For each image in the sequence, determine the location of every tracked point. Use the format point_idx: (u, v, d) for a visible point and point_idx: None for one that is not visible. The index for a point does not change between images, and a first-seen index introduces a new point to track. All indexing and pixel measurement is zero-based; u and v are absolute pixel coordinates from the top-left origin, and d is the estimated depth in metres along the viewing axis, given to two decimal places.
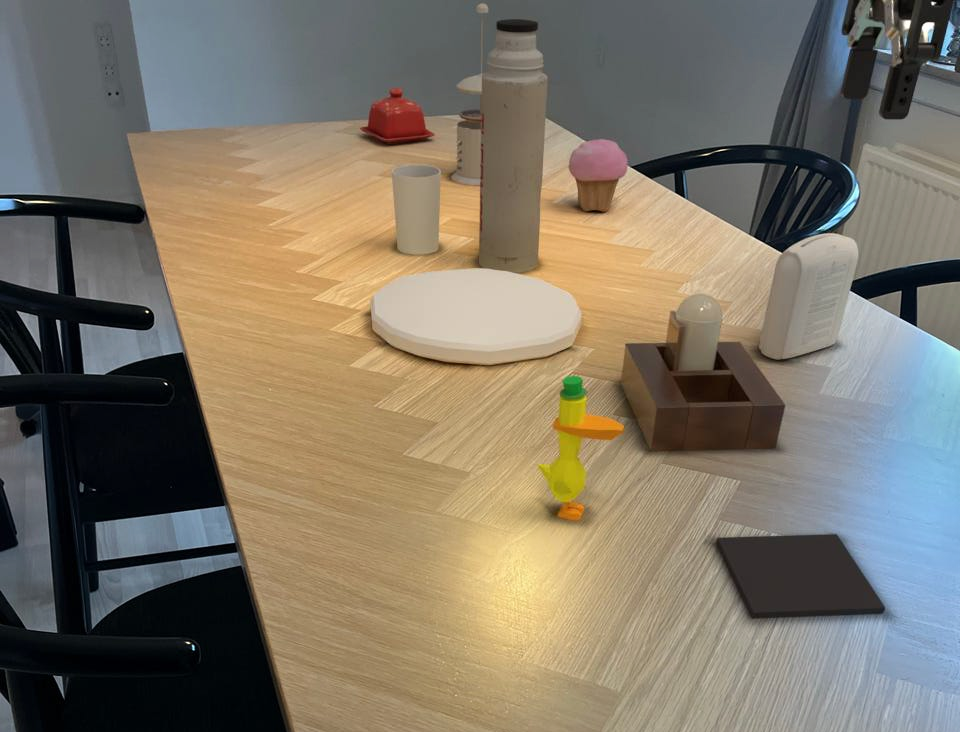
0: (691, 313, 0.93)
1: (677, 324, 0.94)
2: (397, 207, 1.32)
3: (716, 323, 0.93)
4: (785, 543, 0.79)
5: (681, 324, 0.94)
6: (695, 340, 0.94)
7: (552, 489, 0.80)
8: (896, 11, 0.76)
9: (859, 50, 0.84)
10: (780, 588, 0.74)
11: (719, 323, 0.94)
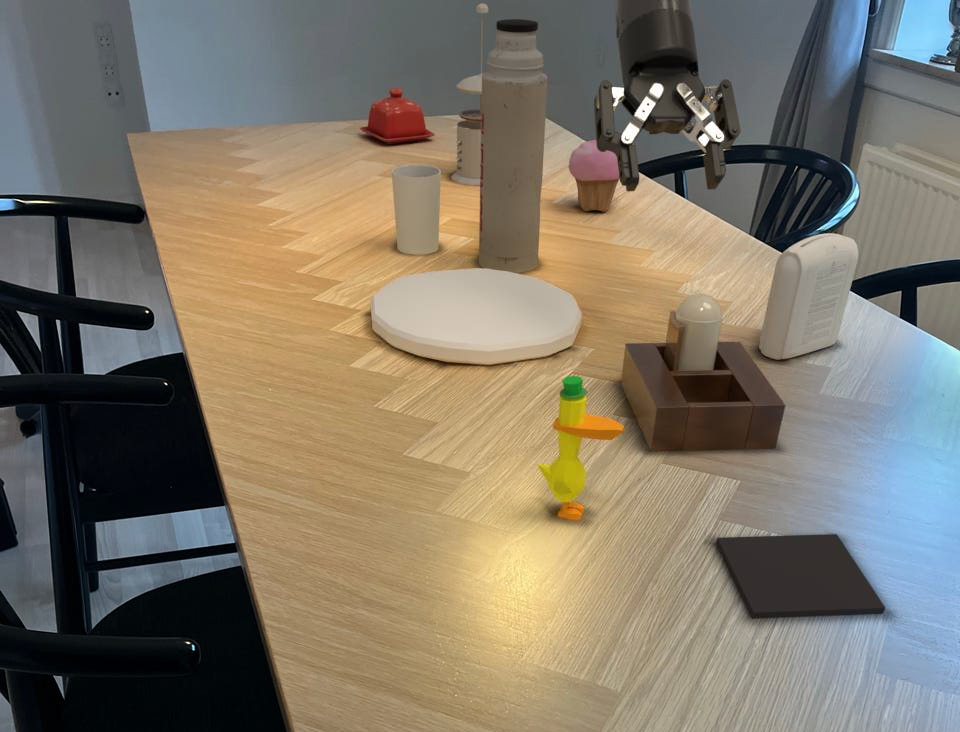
0: (691, 313, 0.93)
1: (677, 324, 0.94)
2: (397, 207, 1.32)
3: (716, 323, 0.93)
4: (785, 543, 0.79)
5: (681, 324, 0.94)
6: (695, 340, 0.94)
7: (552, 489, 0.80)
8: None
9: (705, 153, 0.99)
10: (780, 588, 0.74)
11: (719, 323, 0.94)
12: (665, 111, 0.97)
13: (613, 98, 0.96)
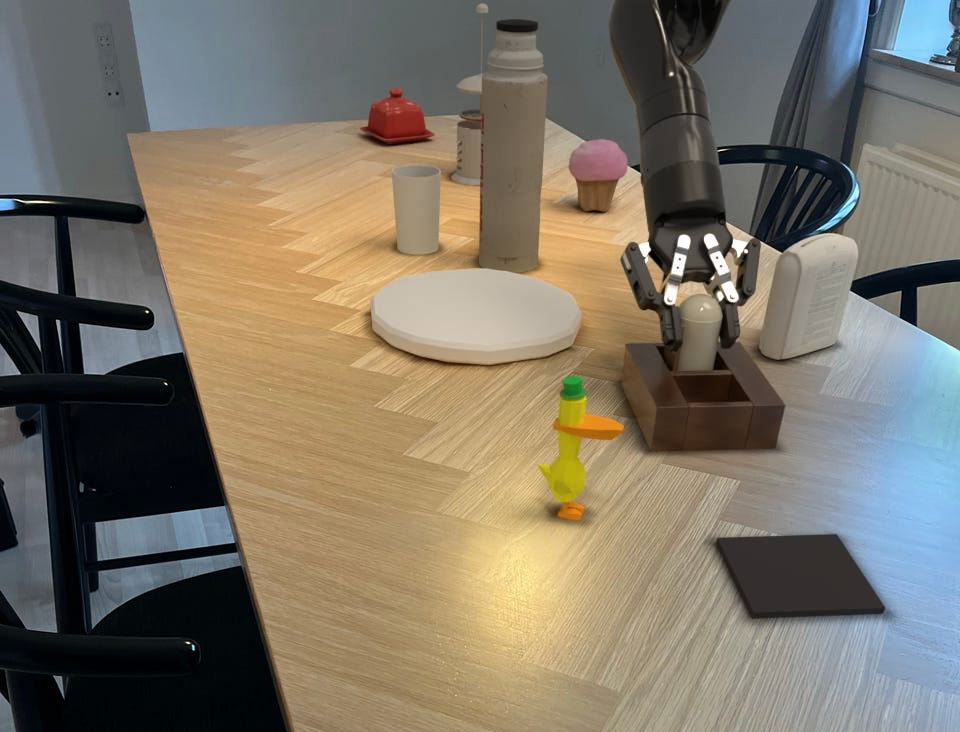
0: (691, 313, 0.93)
1: None
2: (397, 207, 1.32)
3: (716, 323, 0.93)
4: (785, 543, 0.79)
5: (681, 324, 0.93)
6: (695, 340, 0.94)
7: (552, 489, 0.80)
8: (662, 279, 0.96)
9: None
10: (780, 588, 0.74)
11: (719, 323, 0.94)
12: (692, 263, 0.94)
13: (644, 257, 0.93)
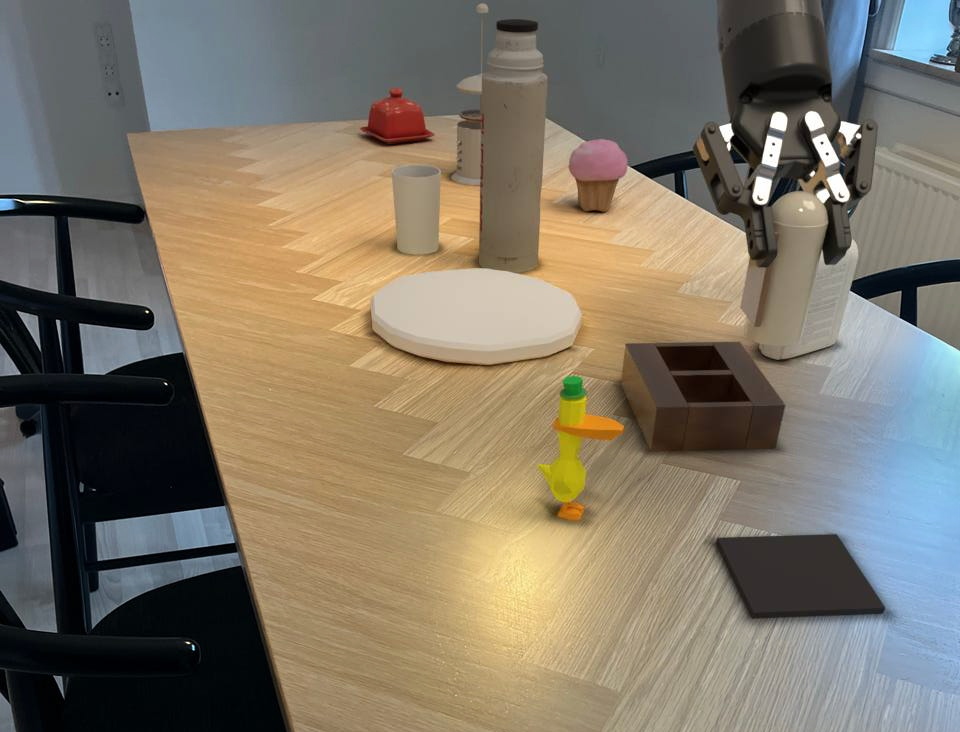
0: (789, 215, 0.71)
1: None
2: (397, 207, 1.32)
3: (821, 229, 0.71)
4: (785, 543, 0.79)
5: (775, 230, 0.71)
6: (792, 252, 0.72)
7: (552, 489, 0.80)
8: (747, 175, 0.73)
9: None
10: (780, 588, 0.74)
11: (824, 229, 0.71)
12: (789, 150, 0.71)
13: (726, 142, 0.71)
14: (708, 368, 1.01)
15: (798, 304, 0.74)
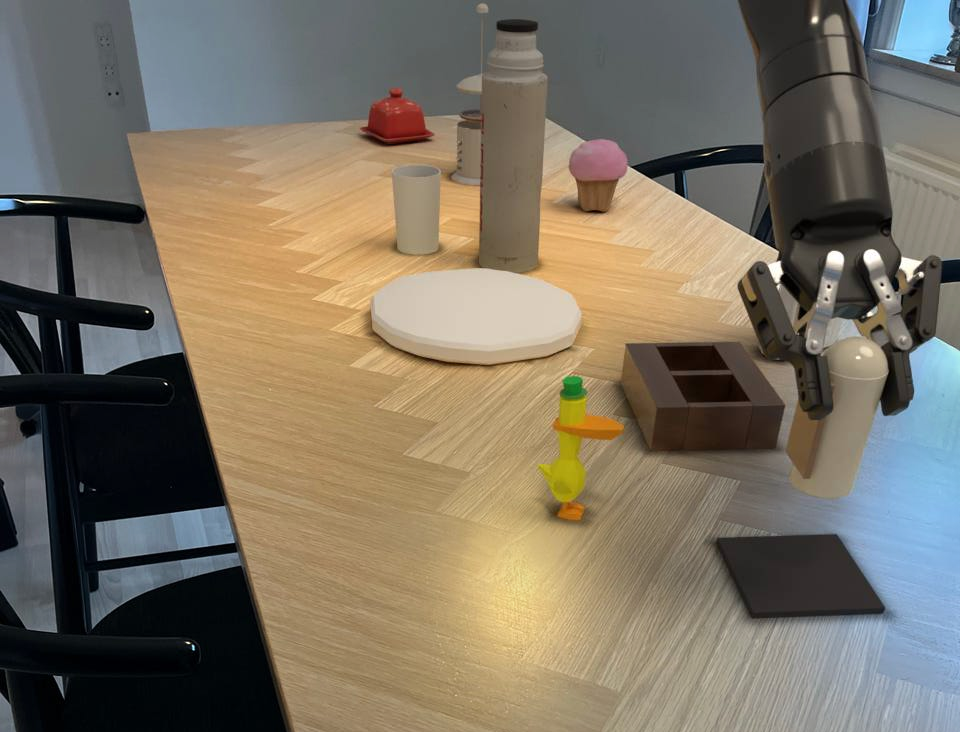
0: (846, 366, 0.63)
1: None
2: (397, 207, 1.32)
3: (881, 380, 0.64)
4: (785, 543, 0.79)
5: (830, 381, 0.64)
6: (849, 404, 0.64)
7: (552, 489, 0.80)
8: (797, 315, 0.66)
9: None
10: (780, 588, 0.74)
11: (884, 380, 0.64)
12: (845, 292, 0.64)
13: (776, 284, 0.64)
14: (708, 368, 1.01)
15: (853, 456, 0.67)
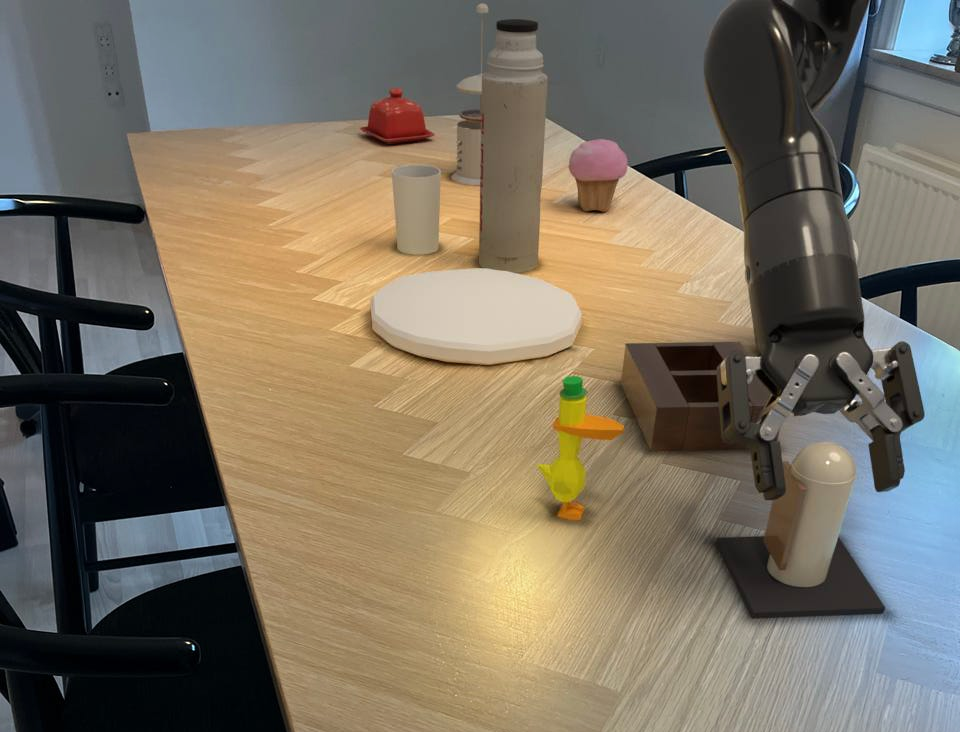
0: (816, 471, 0.68)
1: (795, 484, 0.69)
2: (397, 207, 1.32)
3: (849, 483, 0.69)
4: None
5: (802, 485, 0.69)
6: (820, 505, 0.69)
7: (552, 489, 0.80)
8: (766, 403, 0.71)
9: (873, 441, 0.71)
10: (780, 588, 0.74)
11: (852, 483, 0.69)
12: (820, 391, 0.69)
13: (747, 375, 0.68)
14: (708, 368, 1.01)
15: (825, 550, 0.72)
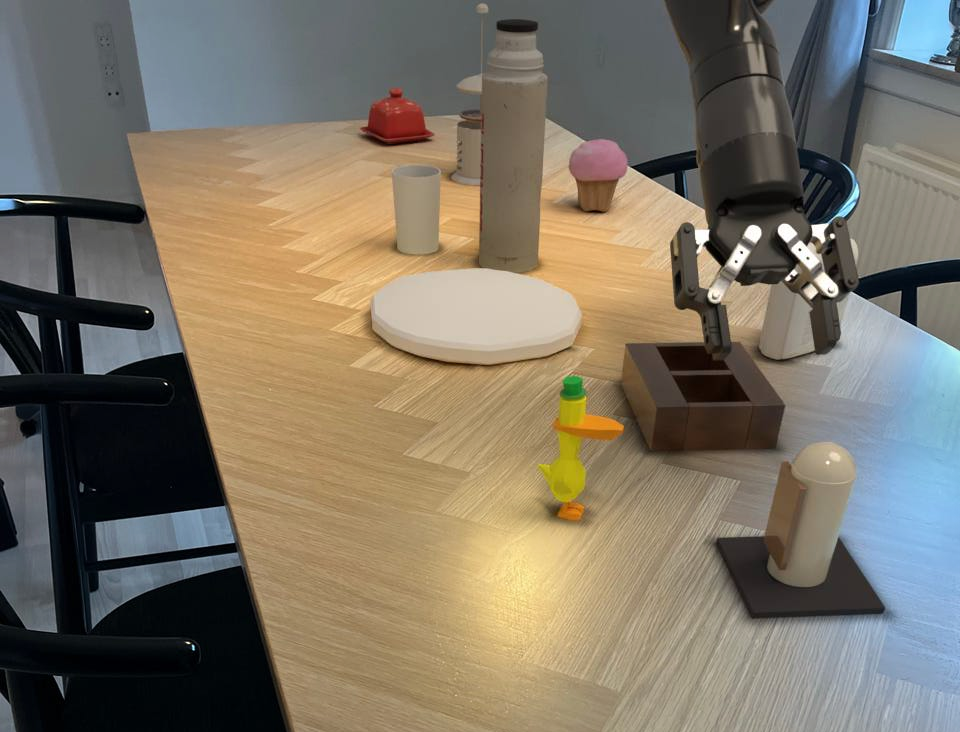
0: (816, 471, 0.68)
1: (795, 484, 0.69)
2: (397, 207, 1.32)
3: (849, 483, 0.69)
4: None
5: (802, 485, 0.69)
6: (820, 505, 0.69)
7: (552, 489, 0.80)
8: (716, 275, 0.78)
9: (813, 309, 0.77)
10: (780, 588, 0.74)
11: (852, 483, 0.69)
12: (763, 260, 0.76)
13: (696, 245, 0.75)
14: (708, 368, 1.01)
15: (825, 550, 0.72)
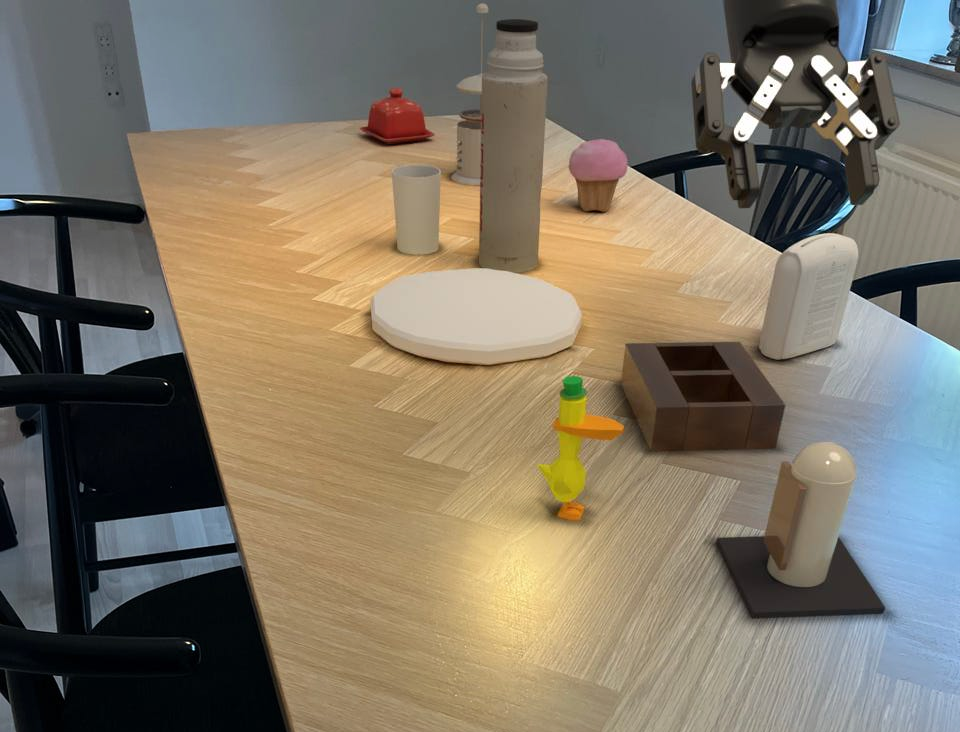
0: (816, 471, 0.68)
1: (795, 484, 0.69)
2: (397, 207, 1.32)
3: (849, 483, 0.69)
4: None
5: (802, 485, 0.69)
6: (820, 505, 0.69)
7: (552, 489, 0.80)
8: None
9: (848, 155, 0.70)
10: (780, 588, 0.74)
11: (852, 483, 0.69)
12: (794, 96, 0.68)
13: (721, 77, 0.68)
14: (708, 368, 1.01)
15: (825, 550, 0.72)
